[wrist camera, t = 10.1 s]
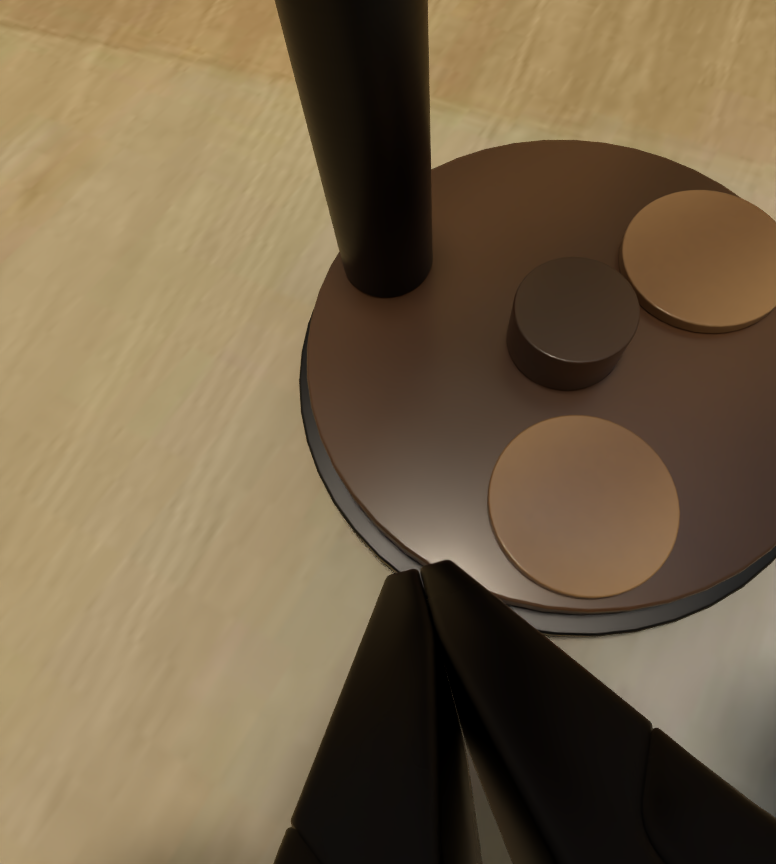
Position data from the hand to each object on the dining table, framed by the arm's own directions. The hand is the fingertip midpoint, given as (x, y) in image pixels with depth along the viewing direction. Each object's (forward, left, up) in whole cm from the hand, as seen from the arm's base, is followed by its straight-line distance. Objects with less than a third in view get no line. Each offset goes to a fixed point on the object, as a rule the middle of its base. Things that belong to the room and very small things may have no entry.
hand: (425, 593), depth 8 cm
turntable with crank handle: (+3, -7, -7) cm, 11 cm away
